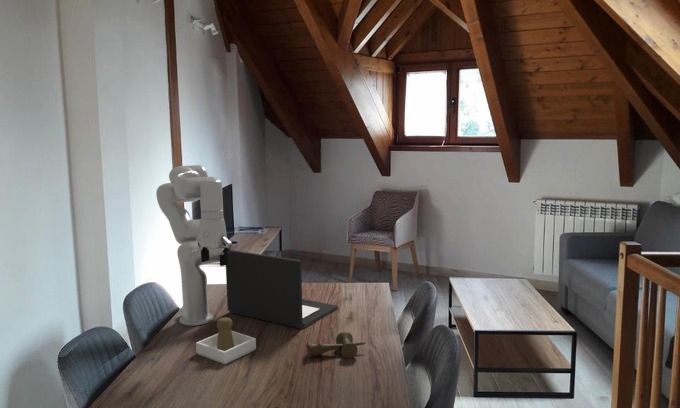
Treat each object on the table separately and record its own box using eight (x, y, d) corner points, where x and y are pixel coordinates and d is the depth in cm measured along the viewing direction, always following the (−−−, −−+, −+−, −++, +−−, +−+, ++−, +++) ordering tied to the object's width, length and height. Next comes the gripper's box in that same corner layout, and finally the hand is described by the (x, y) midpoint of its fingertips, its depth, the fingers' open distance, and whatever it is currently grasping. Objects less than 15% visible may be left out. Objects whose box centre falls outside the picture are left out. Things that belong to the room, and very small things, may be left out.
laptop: (338, 309, 221) (337, 246, 217) (301, 331, 198) (299, 261, 194) (268, 295, 240) (266, 237, 236) (226, 313, 217) (224, 249, 213)
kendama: (305, 352, 180) (362, 345, 184) (308, 365, 171) (369, 357, 175) (304, 335, 179) (361, 329, 183) (308, 348, 170) (368, 340, 174)
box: (196, 353, 179) (196, 342, 178) (228, 339, 190) (227, 329, 189) (224, 364, 170) (224, 352, 170) (256, 349, 182) (255, 338, 181)
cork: (231, 353, 177) (229, 322, 175) (213, 352, 178) (212, 321, 176) (237, 346, 183) (236, 315, 181) (220, 345, 184) (219, 315, 182)
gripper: (187, 214, 185) (190, 261, 188) (220, 219, 175) (223, 269, 178) (204, 211, 191) (206, 257, 194) (237, 215, 181) (239, 264, 184)
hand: (214, 263), depth 186 cm, fingers open, 9 cm apart
